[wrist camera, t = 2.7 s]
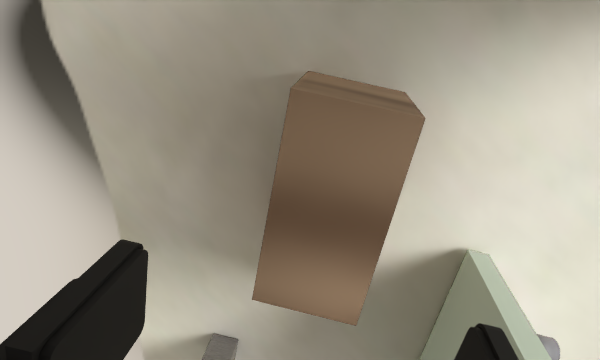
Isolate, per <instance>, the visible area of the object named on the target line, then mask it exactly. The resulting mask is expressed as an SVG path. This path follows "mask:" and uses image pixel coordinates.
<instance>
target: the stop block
mask: <svg viewBox="0 0 600 360" xmlns="http://www.w3.org/2000/svg"><path fill="white" fill-rule="evenodd" d="M424 121H425V117H424V116H423V114H422V113H421V112H420V111H419V109H418V108H417V107H416V105H415V104H414V103H413V102H412V100H411V99H410V98H409V97H408V95H407V94H406V93H405V92H402V91H397V90H393V89H388V88H383V87H379V86H374V85H370V84H365V83H361V82H356V81H352V80H347V79H343V78H338V77H333V76H329V75H324V74H320V73H315V72H311V71H308V72H307V73H306V74H305V75H304V76H303V77H302V78H301V79H300V80H299V81H298V82H297V83H296V84H295V85H293V86H292V87H291V90H290V95H289V100H288V106H287V111H286V117H285V122H284V128H283V133H282V139H281V144H280V150H279V155H278V160H277V166H276V171H275V177H274V182H273V188H272V193H271V199H270V204H269V210H268V215H267V220H266V226H265V231H264V237H263V242H262V248H261V253H260V259H259V264H258V270H257V275H256V280H255V286H254V291H253V297H252V300H255V301H259V302H263V303H267V304H271V305H275V306H279V307H283V308H287V309H291V310H295V311H299V312H303V313H307V314H311V315H315V316H319V317H323V318H327V319H331V320H335V321H339V322H343V323H347V324H351V325H355V326H356V325H357V322H358V319H359V316H360V313H361V310H362V307H363V304H364V301H365V298H366V295H367V292H368V289H369V286H370V283H371V280H372V277H373V274H374V271H375V268H376V265H377V262H378V259H379V256H380V253H381V250H382V247H383V244H384V241H385V238H386V235H387V232H388V229H389V226H390V223H391V220H392V217H393V214H394V211H395V208H396V205H397V202H398V199H399V196H400V193H401V190H402V187H403V184H404V181H405V178H406V175H407V172H408V169H409V166H410V163H411V160H412V157H413V154H414V151H415V148H416V145H417V142H418V139H419V136H420V133H421V130H422V127H423V124H424Z"/></svg>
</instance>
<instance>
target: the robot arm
mask: <svg viewBox="0 0 600 360" xmlns="http://www.w3.org/2000/svg"><path fill="white" fill-rule="evenodd" d="M147 266H148V252H147V251H146V250H143V245H142V244H140V243H135V242H131V241H127V240H120V241H118V242H117V243H116V244H115V245H114V246H113V247H112V248H111V249H110V250H109V251H108V252H106V253H105V254H104V255H103V256H102V257H101V258H100V259H99V260H98V261H97V262H96V263H94V264H93V265H92V266H91V267H90V268H89V269H88V270H87V271H86V272H85V273H83V274H82V275H81V276H80V277H79V278H77V279H74V280H72V281H71V282H69V283H68V284H67V285H66V286H65V287H64V288H62V289H61V290H60V291H59V292H58V293H57V294H56V295H55V296H53V297H52V298H51V299H50V300H49V301H48V302H47V303H46V304H45V305H43V306H42V307H41V308H40V309H39V310H38V311H37V312H36V313H35V314H33V315H32V316H31V317H30V318H29V319H28V320H27V321H26V322H25V323H23V324H22V325H21V326H20V327H19V328H18V329H17V330H16V331H15V332H13V333H12V334H11V335H10V336H9V337H8V338H7V339H6V340H5V341H3V342H2V343H1V344H0V360H123V359H124V358H125V356H126V355H127V353H128V352H129V350H130V349H131V347H132V346H133V344H134V343H135V342H136V340H137V339H138V337H139V336H140V334H141V332H142V330H143V327H144V322H145V304H146V285H147ZM454 360H519V359H518V357H517V355H516V353H515V352H514V350H513V348H512V346H511V344H510V342H509V340H508V338H507V337H506V335H505V333H504V331H503V330H502V329H501V328H499V327H495V326H490V325H486V324H482V323H478V324H477V325H476V326H475V327H470V328H469V329H468V331H467V333H466V335H465V337H464V340H463V342H462V344H461V346H460V348H459V350H458V352H457V354H456V356H455V359H454Z"/></svg>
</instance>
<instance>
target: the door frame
mask: <svg viewBox="0 0 600 360" xmlns="http://www.w3.org/2000/svg"><path fill="white" fill-rule="evenodd" d="M237 343H238V339H234V338H230V337H226V336H222V335H218V334H213V336H212V338H211V340H210V342H209V344H208V347H207V349H206V351H205V353H204V355H203V358H202V360H235V355H236V349H237Z"/></svg>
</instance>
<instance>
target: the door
mask: <svg viewBox="0 0 600 360" xmlns="http://www.w3.org/2000/svg"><path fill="white" fill-rule="evenodd" d="M478 323H482V324H486V325H490V326H495V327H499V328H501V329H502V330H503V331H504V333H505V335H506V337H507V338H508V340H509V342H510V344H511V346H512V348H513V350H514V352H515V353H516V355H517V357H518V359H519V360H559V359H560V348H559V345H558V343H557V341H556V340H555V339H553V338H550V337H546V336H542V335H538V334H536V332H535V331H534V329H533V327H532V326H531V324H530V322H529V321H528V319H527V317H526V316H525V314H524V312H523V311H522V309H521V307H520V306H519V304H518V302H517V301H516V299H515V297H514V296H513V294H512V292H511V291H510V289H509V287H508V286H507V284H506V282H505V280H504V279H503V277H502V275H501V274H500V272H499V270H498V269H497V267H496V265H495V264H494V262H493V260H492V259H491V257H490V255H489V254H485V253H481V252H476V251H472V250H467V253H466V255H465V257H464V260H463V262H462V264H461V266H460V269H459V271H458V273H457V275H456V278H455V280H454V282H453V285H452V287H451V289H450V291H449V294H448V296H447V298H446V300H445V303H444V305H443V307H442V309H441V312H440V314H439V316H438V319H437V321H436V323H435V325H434V328H433V330H432V332H431V334H430V337H429V339H428V341H427V344H426V346H425V348H424V350H423V353H422V355H421V357H420V359H419V360H454V359H455V356H456V354H457V352H458V350H459V348H460V346H461V344H462V342H463V340H464V337H465V335H466V333H467V331H468V329H469V328H470V327H475V326H476V325H477V324H478Z"/></svg>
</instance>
